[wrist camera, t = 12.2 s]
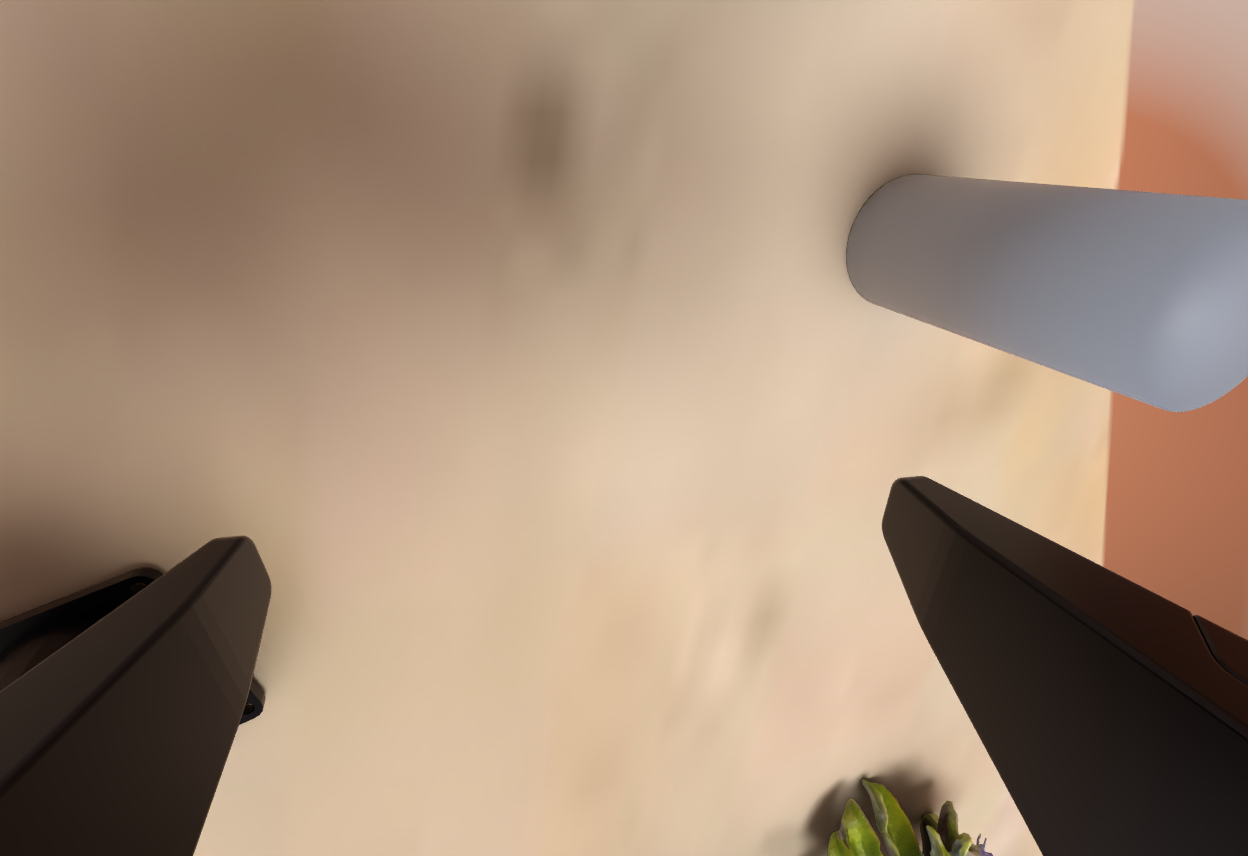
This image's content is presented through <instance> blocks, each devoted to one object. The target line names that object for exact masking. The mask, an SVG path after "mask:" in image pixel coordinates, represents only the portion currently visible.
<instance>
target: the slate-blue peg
mask: <svg viewBox="0 0 1248 856" xmlns="http://www.w3.org/2000/svg"><path fill="white" fill-rule="evenodd" d="M846 259H847V269H848V274H849V277H850V280H851V282H852V284H853V286H854V288H855V289H856V291H857V292H858V293H859V294H860V295H861V296H862V297H863V298H864V299H866V300H867V301H869V302H871V303H873V304H876V305H879V306H881V307H884V308H887V309H889V310H892V311H895V312H898V313H900V314H903V315H906V316H909V317H911V318H914V319H917V320H920V321H922V322H925V323H928V324H931V325H933V326H936V327H939V328H941V329H944V330H947V331H950V332H952V333H955V334H958V335H961V336H963V337H966V338H969V339H972V340H974V341H977V342H980V343H983V344H985V345H988V346H991V347H993V348H996V349H999V350H1002V351H1004V352H1007V353H1010V354H1013V355H1015V356H1018V357H1021V358H1024V359H1026V360H1029V361H1032V362H1034V363H1037V364H1040V365H1043V366H1045V367H1048V368H1051V369H1054V370H1056V371H1059V372H1062V373H1065V374H1067V375H1070V376H1073V377H1076V378H1078V379H1081V380H1084V381H1086V382H1089V383H1092V384H1095V385H1097V386H1100V387H1103V388H1106V389H1108V390H1111V391H1114V392H1117V393H1119V394H1122V395H1125V396H1128V397H1130V398H1133V399H1136V400H1138V401H1141V402H1144V403H1147V404H1149V405H1152V406H1155V407H1158V408H1160V409H1163V410H1167V411H1172V412H1183V411H1190V410H1193V409H1197V408H1200V407H1202V406H1205V405H1207V404H1209V403H1211V402H1213V401H1215V400H1217V399H1219V398H1220V397H1222V396H1223V395H1225V394H1226V393H1228V392H1229V391H1231V390H1232V389H1233V388H1234V387H1236V386H1237V385H1238V384H1240V383H1241V382H1242V381H1243V380H1244V379H1245V378H1246V377H1247V376H1248V200H1241V199H1229V198H1216V197H1203V196H1191V195H1190V196H1189V195H1177V194H1165V193H1152V192H1139V191H1126V190H1125V191H1124V190H1113V189H1101V188H1088V187H1075V186H1062V185H1049V184H1036V183H1023V182H1010V181H998V180H985V179H972V178H959V177H946V176H933V175H920V174H911V175H905V176H902V177H898V178H896V179H894V180H892V181H890V182H888V183H886V184H885V185H883V186H882V187H881V188H880V189H878V190H877V191H876V192H875V193H874V194H873V195H872V196H871V197H870V198H869V199H868V200H867V202H866V203H865V204H864V206H863V207H862V209H861V210H860V212H859V213H858V215H857V217H856V219H855V221H854V224H853V226H852V229H851V232H850V235H849V239H848V244H847V254H846Z"/></svg>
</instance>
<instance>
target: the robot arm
mask: <svg viewBox="0 0 1248 856" xmlns="http://www.w3.org/2000/svg"><path fill="white" fill-rule="evenodd" d="M882 531H883V536H884V539H885V541H886V544H887V546H888V549H889V551H890V553H891V556H892V558H893V561H894V563H895V566H896V568H897V571H898V573H899V576H900V578H901V581H902V583H903V586H904V588H905V590H906V593H907V595H908V598H909V600H910V603H911V605H912V608H913V610H914V613H915V615H916V617H917V619H918V622H919V624H920V626H921V628H922V630H923V632H924V634H925V636H926V638H927V640H928V642H929V644H930V646H931V648H932V650H933V651H934V653H935V655H936V657H937V659H938V661H939V663H940V664H941V666H942V668H943V670H944V672H945V674H946V676H947V677H948V679H949V681H950V683H951V685H952V687H953V689H954V691H955V692H956V694H957V696H958V698H959V700H960V702H961V704H962V705H963V707H964V709H965V711H966V713H967V715H968V717H969V718H970V720H971V722H972V724H973V726H974V728H975V730H976V731H977V733H978V735H979V737H980V739H981V741H982V743H983V745H984V746H985V748H986V750H987V752H988V754H989V756H990V758H991V759H992V761H993V763H994V765H995V767H996V769H997V771H998V772H999V774H1000V776H1001V778H1002V780H1003V782H1004V784H1005V785H1006V787H1007V789H1008V791H1009V793H1010V795H1011V797H1012V798H1013V800H1014V802H1015V804H1016V806H1017V808H1018V810H1019V812H1020V813H1021V815H1022V817H1023V819H1024V821H1025V823H1026V825H1027V826H1028V828H1029V830H1030V832H1031V834H1032V836H1033V838H1034V839H1035V841H1036V843H1037V845H1038V847H1039V849H1040V851H1041V852H1042V854H1043V856H1248V640H1246V639H1244V638H1242V637H1240V636H1238V635H1236V634H1234V633H1232V632H1230V631H1228V630H1226V629H1224V628H1222V627H1220V626H1218V625H1216V624H1214V623H1213V622H1211V621H1209V620H1207V619H1205V618H1203V617H1201V616H1198V615H1194V616H1192V614H1191V612H1190V611H1189V610H1187V609H1185V608H1183V607H1181V606H1179V605H1177V604H1175V603H1173V602H1171V601H1169V600H1167V599H1165V598H1163V597H1161V596H1159V595H1157V594H1155V593H1153V592H1151V591H1149V590H1147V589H1145V588H1143V587H1142V586H1140V585H1138V584H1136V583H1134V582H1132V581H1130V580H1128V579H1126V578H1124V577H1122V576H1120V575H1118V574H1116V573H1114V572H1112V571H1110V570H1108V569H1106V568H1104V567H1102V566H1100V565H1098V564H1096V563H1094V562H1092V561H1091V560H1089V559H1087V558H1085V557H1083V556H1081V555H1079V554H1077V553H1075V552H1073V551H1071V550H1069V549H1067V548H1065V547H1063V546H1061V545H1059V544H1057V543H1055V542H1053V541H1051V540H1049V539H1047V538H1045V537H1043V536H1041V535H1039V534H1037V533H1035V532H1034V531H1032V530H1030V529H1028V528H1026V527H1024V526H1022V525H1020V524H1018V523H1016V522H1014V521H1012V520H1010V519H1008V518H1006V517H1004V516H1002V515H1000V514H998V513H996V512H994V511H992V510H990V509H988V508H986V507H984V506H982V505H980V504H978V503H976V502H975V501H973V500H971V499H969V498H967V497H965V496H963V495H961V494H959V493H957V492H955V491H953V490H951V489H949V488H947V487H945V486H943V485H941V484H939V483H937V482H935V481H933V480H931V479H929V478H927V477H924V476H916V477H904V478H899V479H897V480H895V481H894V483H893V484H892V487H891V490H890V494H889V498H888V501H887V505H886V509H885V512H884V516H883V520H882ZM136 583H145V584H147V585H148V586H147V587H145V588H141V587H139V586H138V585H137V584H136ZM270 598H271V582H270V578H269V575H268V573H267V571H266V569H265V566H264V564H263V562H262V560H261V557H260V555H259V553H258V551H257V548H256V546H255V544H254V542H253V541H252V540H251V539H250V538H249V537H246V536H233V537H222V538H216V539H213V540H211V541H210V542H208V543H207V544H205V545H204V546H203V547H201V548H200V549H198V550H197V551H196V552H194V553H193V554H191V555H190V556H189V557H187V558H186V559H184V560H183V561H182V562H180V563H179V564H177V565H176V566H175V567H173V568H172V569H170V570H169V571H168V572H166V573H165V574H164V575H163V574H162V573H160V572H159V571H158V570H155V569H152V568H139V569H135V570H132V571H130V572H127V573H125V574H122V575H120V576H117V577H115V578H112V579H109V580H107V581H104V582H102V583H99V584H97V585H94V586H92V587H89V588H87V589H84V590H82V591H79V592H76V593H74V594H71V595H69V596H66V597H64V598H61V599H59V600H56V601H54V602H51V603H49V604H46V605H43V606H41V607H38V608H36V609H33V610H31V611H28V612H26V613H23V614H21V615H18V616H16V617H13V618H10V619H8V620H5V621H3V622H0V856H193V854H194V852H195V849H196V846H197V843H198V840H199V837H200V834H201V832H202V829H203V826H204V823H205V820H206V817H207V814H208V812H209V809H210V806H211V803H212V800H213V797H214V794H215V792H216V789H217V786H218V783H219V780H220V777H221V774H222V772H223V769H224V766H225V763H226V760H227V757H228V754H229V752H230V749H231V746H232V743H233V740H234V737H235V734H236V732H237V729H238V726H239V725H240V724H242V723H245V722H247V721H249V720H251V719H254V718H256V717H257V716H259V715H260V714H261V712H262V711H263V707H264V704H265V698H266V697H265V695H264V693H263V692H262V691H261V689H260V688H259V687H258V686H257V685H256V684H255V682H254V681H253V680H252V677H253V673H254V668H255V664H256V660H257V655H258V651H259V646H260V642H261V638H262V633H263V629H264V624H265V620H266V615H267V611H268V607H269V602H270ZM246 703H251V704H252V705H246Z"/></svg>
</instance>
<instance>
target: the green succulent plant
mask: <svg viewBox="0 0 1248 856" xmlns="http://www.w3.org/2000/svg"><path fill="white" fill-rule="evenodd" d="M861 781H862V783H863V786H864V787H865V789H866V790H867V792H868V794H869V796H870V798H871V801H872V807H873V810H874V814H875V820H876V826H877V829H878V831H879V833H880V835H881V837H882V838H883V840H884V843H885V847H886V850H887V853H888V856H993V855H992V853H987V852H984V847H985V843H986V838H985V841H984V844H983V845H982V844H980V845H979V839H980V836H981V834H980V835H979V836H978V838H977V845H974V844H973V843H972V839H971V837H970V836H969V834H966V833H963V834H960V835H959V834H958V816H957V813H956V811H955V808H954V803H953V802H951V801H946V803H945V804H944V805H943V806H942V808H941V812H940V816H937V815H936V814H932V813H929V814H925V815H924V816H923V817H922V821H921V823H920V833H921V838H922V853H921V851H920V849H919V843H918V841H917V838H916V836H915V833H914V830H913V827H912V825H911V823H910V821H909V820H908V818H907V816H906V815H905V813H904V811H903V810H902V809H901V808H900V806H899V803H898V800H897V799H896V798H895V797H894V796H893V795H892V794H891V792H890V791H888V790H887V789H886V788H885V786H884V785H883V784H879V783H871V782H868V781H866V780H865V779H862V780H861ZM827 856H883V854H882V853H881V851H880V841H879V838H878V836H877V834H876V832H875V831H874V830H873V828H872V826H871V825H870V823H869V820H868V819H867V818H866V816H865V814H864V813H863V811H862V809H861V807H860V806H859V805H858V804H857V802H856V801H854V799H852V798H851V799H849V800H848V801H847V804H846V807H845V809H844V813H843V816H842V819H841V828H840V829H839V831H836V832H835V831H834V832H833V833H832V835H831V836H830V839H829V845H828V852H827Z"/></svg>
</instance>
